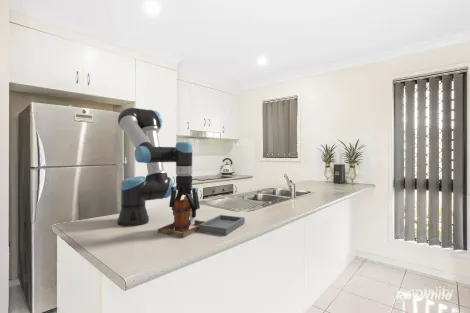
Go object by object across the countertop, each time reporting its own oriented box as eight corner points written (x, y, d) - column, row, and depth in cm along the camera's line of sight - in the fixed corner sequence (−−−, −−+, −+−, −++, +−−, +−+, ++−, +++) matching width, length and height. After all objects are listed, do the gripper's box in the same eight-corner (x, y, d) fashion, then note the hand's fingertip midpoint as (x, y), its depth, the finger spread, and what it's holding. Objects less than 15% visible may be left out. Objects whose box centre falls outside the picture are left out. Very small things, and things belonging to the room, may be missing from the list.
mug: (185, 234, 110) (185, 200, 110) (168, 233, 112) (168, 200, 112) (197, 225, 125) (197, 195, 125) (182, 224, 126) (182, 194, 126)
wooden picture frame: (157, 233, 112) (157, 229, 112) (184, 222, 130) (184, 218, 130) (183, 237, 106) (183, 233, 106) (207, 225, 125) (207, 221, 125)
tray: (199, 231, 116) (199, 224, 115) (220, 220, 135) (220, 214, 135) (226, 235, 110) (226, 228, 110) (244, 223, 129) (244, 217, 129)
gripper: (161, 175, 119) (161, 222, 119) (198, 176, 110) (199, 228, 110) (171, 173, 126) (171, 219, 126) (207, 175, 117) (207, 223, 117)
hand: (184, 223), depth 118 cm, fingers closed on mug, 8 cm apart
